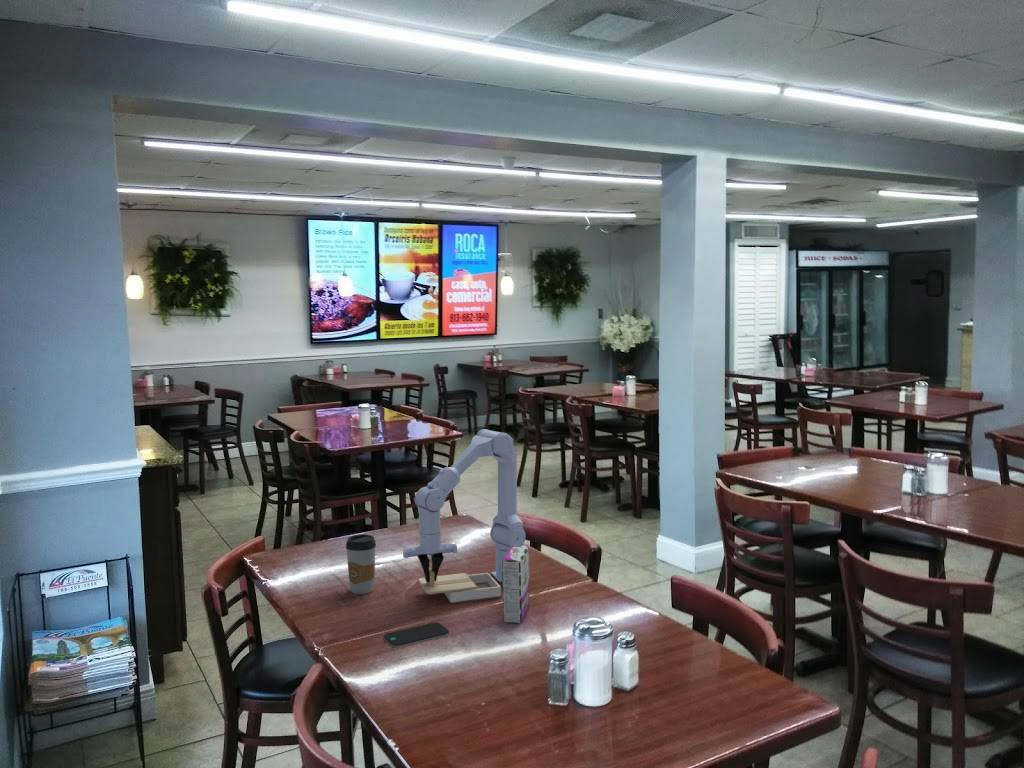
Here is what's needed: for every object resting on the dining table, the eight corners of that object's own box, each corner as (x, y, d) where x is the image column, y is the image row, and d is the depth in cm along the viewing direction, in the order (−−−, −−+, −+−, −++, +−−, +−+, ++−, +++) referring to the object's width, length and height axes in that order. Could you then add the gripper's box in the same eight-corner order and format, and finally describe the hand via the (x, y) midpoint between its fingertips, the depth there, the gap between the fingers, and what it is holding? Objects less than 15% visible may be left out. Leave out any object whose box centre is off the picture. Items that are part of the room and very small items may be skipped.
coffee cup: (340, 592, 219) (339, 540, 217) (359, 583, 226) (358, 532, 224) (364, 597, 215) (363, 544, 213) (383, 588, 222) (382, 536, 221)
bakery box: (488, 582, 226) (488, 572, 225) (500, 597, 214) (500, 586, 214) (440, 588, 221) (440, 578, 221) (450, 603, 210) (450, 592, 210)
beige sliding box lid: (465, 574, 223) (465, 559, 223) (476, 588, 212) (476, 572, 212) (418, 580, 219) (417, 565, 218) (427, 594, 208) (426, 578, 207)
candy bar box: (511, 606, 208) (510, 545, 206) (529, 607, 207) (529, 546, 205) (502, 623, 197) (501, 559, 195) (521, 624, 196) (521, 560, 194)
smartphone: (381, 634, 190) (437, 621, 197) (381, 638, 190) (438, 624, 197) (393, 646, 183) (451, 631, 191) (393, 649, 183) (451, 635, 191)
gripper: (452, 525, 219) (453, 572, 220) (400, 530, 214) (401, 578, 215) (458, 532, 212) (459, 581, 213) (405, 537, 207) (406, 587, 209)
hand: (430, 580), depth 214 cm, fingers closed on beige sliding box lid
